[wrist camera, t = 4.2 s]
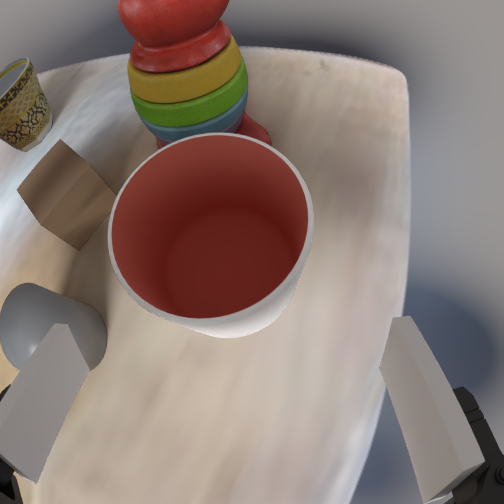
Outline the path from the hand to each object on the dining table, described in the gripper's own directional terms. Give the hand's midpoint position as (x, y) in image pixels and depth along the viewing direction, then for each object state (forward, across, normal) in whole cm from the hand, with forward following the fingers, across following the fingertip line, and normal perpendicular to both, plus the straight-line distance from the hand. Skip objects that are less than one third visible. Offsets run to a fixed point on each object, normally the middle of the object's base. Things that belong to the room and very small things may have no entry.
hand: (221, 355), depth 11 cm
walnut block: (+17, -15, +2) cm, 23 cm away
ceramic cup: (+26, -29, +12) cm, 41 cm away
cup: (+12, -1, -3) cm, 13 cm away
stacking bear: (+22, -3, +7) cm, 23 cm away
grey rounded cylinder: (+8, -14, -7) cm, 18 cm away
